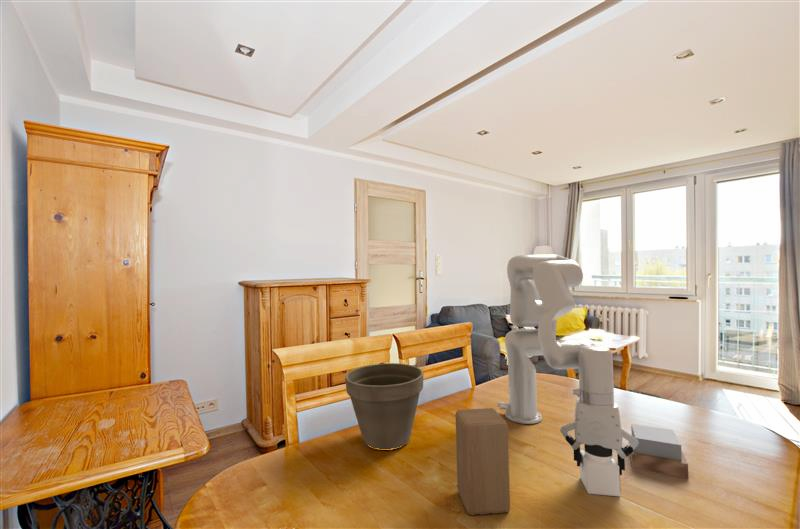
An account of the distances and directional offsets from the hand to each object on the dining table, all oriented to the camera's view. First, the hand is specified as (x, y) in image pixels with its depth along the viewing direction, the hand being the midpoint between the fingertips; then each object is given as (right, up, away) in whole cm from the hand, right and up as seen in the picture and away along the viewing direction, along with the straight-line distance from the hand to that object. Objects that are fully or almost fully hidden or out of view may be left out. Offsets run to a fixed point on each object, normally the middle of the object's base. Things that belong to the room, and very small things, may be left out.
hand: (598, 467), depth 90 cm
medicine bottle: (0, -5, 0) cm, 5 cm away
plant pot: (-53, -7, +27) cm, 60 cm away
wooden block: (-30, -6, -5) cm, 30 cm away
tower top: (+22, -1, +11) cm, 24 cm away
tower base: (+22, -5, +11) cm, 25 cm away
